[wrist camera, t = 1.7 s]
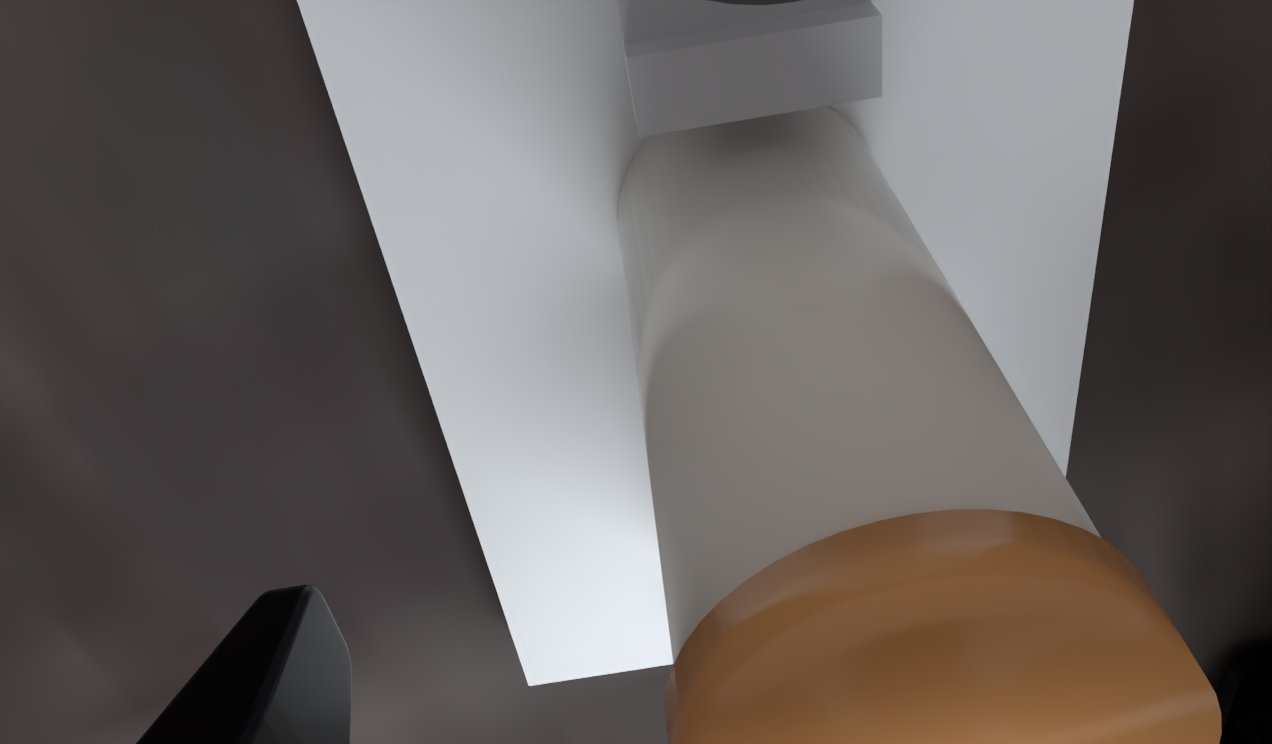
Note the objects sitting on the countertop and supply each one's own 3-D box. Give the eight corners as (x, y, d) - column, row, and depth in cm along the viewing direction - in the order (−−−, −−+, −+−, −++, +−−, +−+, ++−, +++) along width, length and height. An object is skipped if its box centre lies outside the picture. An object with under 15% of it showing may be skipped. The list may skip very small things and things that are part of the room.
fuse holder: (1196, -869, 8) (1795, -1299, 4) (1025, 562, 19) (1158, 827, 15) (108, -662, 9) (-265, -890, 5) (529, 639, 19) (526, 921, 15)
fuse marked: (884, 53, 12) (1278, 571, 5) (884, 303, 14) (1171, 888, 8) (586, 102, 12) (641, 668, 6) (630, 344, 14) (705, 956, 8)
